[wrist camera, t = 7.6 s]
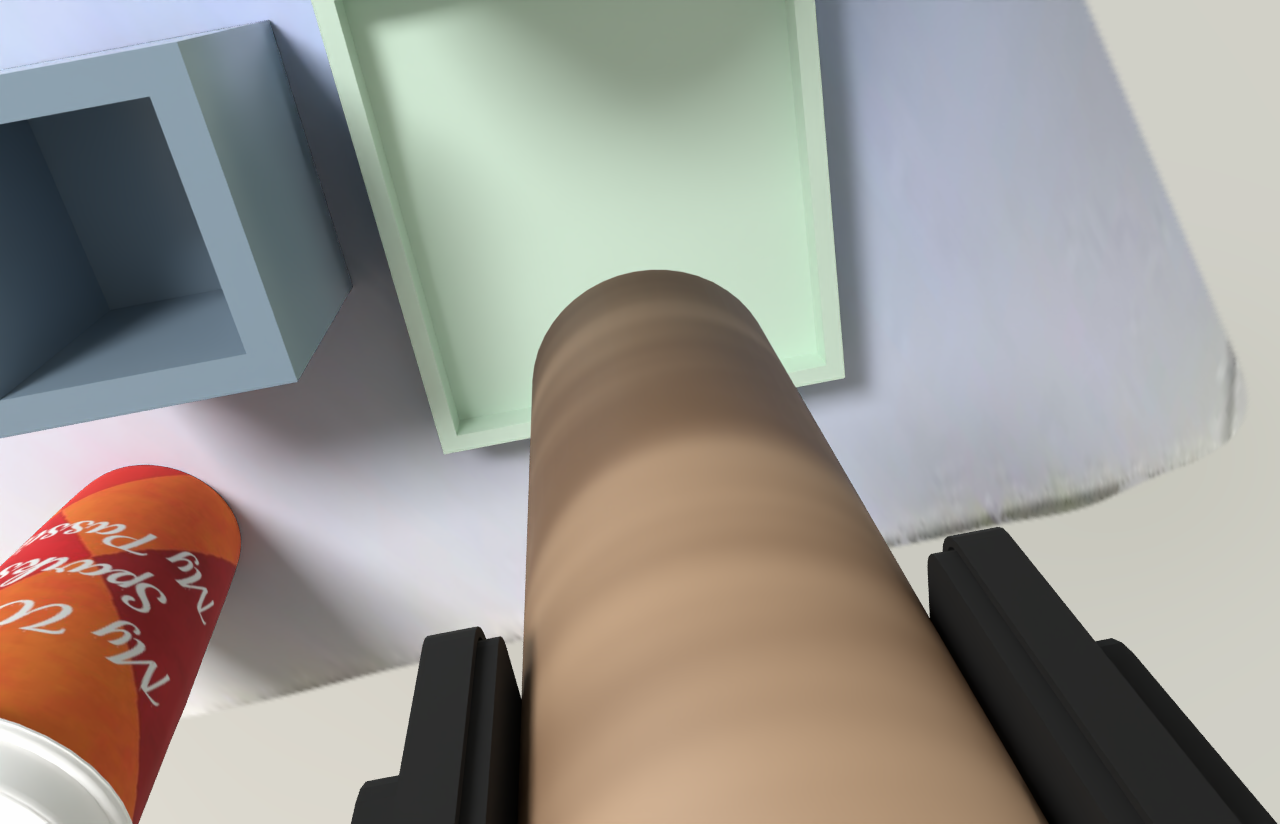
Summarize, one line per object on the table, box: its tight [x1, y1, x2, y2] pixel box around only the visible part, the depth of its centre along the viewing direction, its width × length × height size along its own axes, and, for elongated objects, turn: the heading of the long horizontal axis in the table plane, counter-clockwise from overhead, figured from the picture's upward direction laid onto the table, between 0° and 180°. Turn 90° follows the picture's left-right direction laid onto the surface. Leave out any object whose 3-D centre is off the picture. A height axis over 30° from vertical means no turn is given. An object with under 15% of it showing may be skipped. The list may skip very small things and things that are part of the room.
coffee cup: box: [0, 465, 241, 824], centre depth 29 cm, size 8×8×15 cm
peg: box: [517, 270, 1049, 824], centre depth 12 cm, size 4×4×13 cm
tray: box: [311, 0, 845, 454], centre depth 31 cm, size 15×14×2 cm
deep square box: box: [0, 20, 353, 438], centre depth 27 cm, size 8×8×8 cm
